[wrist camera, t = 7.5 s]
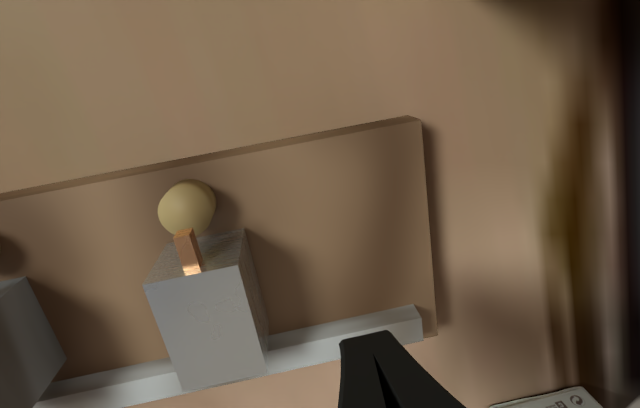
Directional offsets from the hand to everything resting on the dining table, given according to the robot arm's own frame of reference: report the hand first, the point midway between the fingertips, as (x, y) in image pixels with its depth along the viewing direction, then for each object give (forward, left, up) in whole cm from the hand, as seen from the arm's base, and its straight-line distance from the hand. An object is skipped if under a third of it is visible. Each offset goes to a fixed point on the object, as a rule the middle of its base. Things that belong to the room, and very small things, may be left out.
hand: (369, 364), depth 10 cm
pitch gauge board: (-6, 0, -8) cm, 10 cm away
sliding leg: (-5, 0, -6) cm, 8 cm away
